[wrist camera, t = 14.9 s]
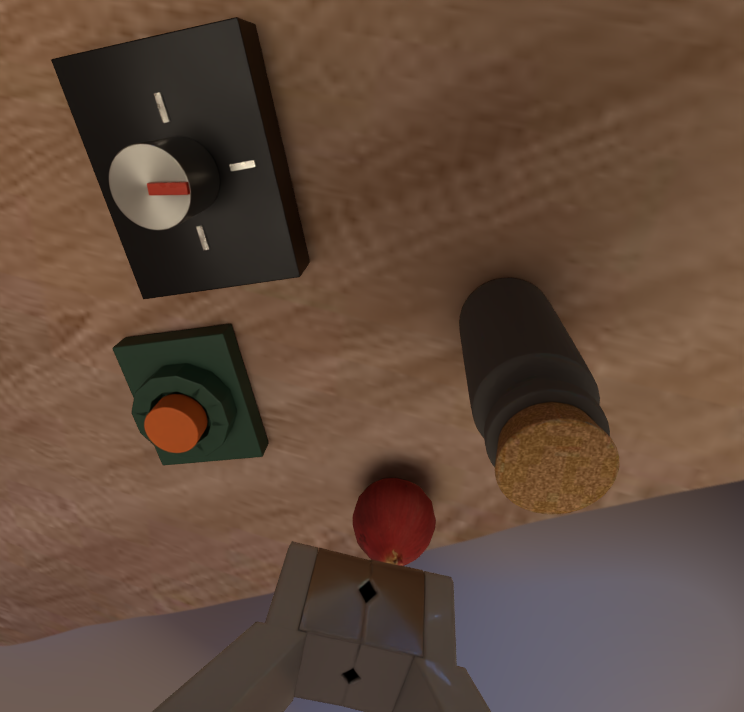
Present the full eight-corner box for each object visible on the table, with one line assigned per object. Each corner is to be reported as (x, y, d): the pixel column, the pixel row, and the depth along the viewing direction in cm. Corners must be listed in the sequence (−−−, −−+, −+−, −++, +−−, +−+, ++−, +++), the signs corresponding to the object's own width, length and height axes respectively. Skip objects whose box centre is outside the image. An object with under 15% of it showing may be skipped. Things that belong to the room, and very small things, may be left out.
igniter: (124, 337, 37) (96, 360, 34) (231, 323, 36) (212, 345, 33) (171, 452, 41) (151, 481, 38) (268, 443, 40) (256, 473, 37)
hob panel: (84, 61, 29) (48, 59, 26) (255, 23, 28) (236, 16, 25) (164, 283, 35) (141, 300, 32) (310, 262, 33) (299, 278, 30)
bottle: (444, 343, 35) (458, 500, 22) (480, 263, 32) (521, 386, 19) (526, 371, 35) (588, 543, 22) (568, 294, 33) (668, 436, 19)
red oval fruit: (406, 524, 42) (402, 611, 35) (345, 491, 41) (329, 574, 34) (448, 478, 40) (453, 562, 33) (384, 442, 39) (376, 521, 32)
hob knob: (156, 213, 30) (116, 232, 26) (140, 137, 28) (94, 144, 24) (225, 213, 29) (195, 231, 25) (213, 135, 27) (179, 142, 24)
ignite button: (148, 396, 35) (135, 410, 34) (198, 390, 35) (187, 404, 33) (166, 440, 37) (155, 455, 35) (214, 435, 36) (205, 450, 35)
